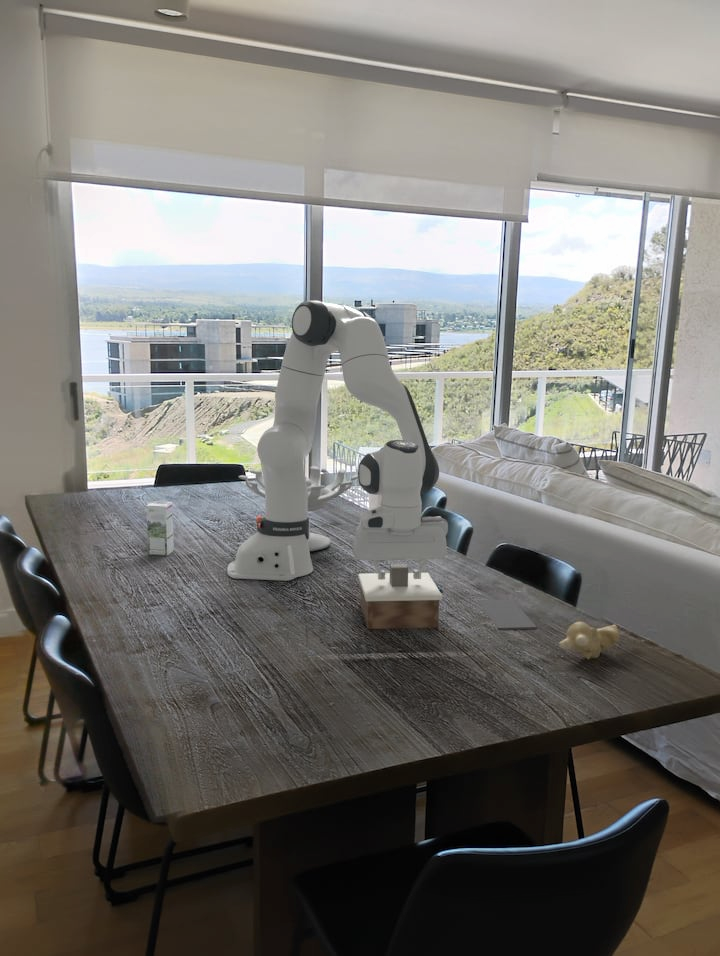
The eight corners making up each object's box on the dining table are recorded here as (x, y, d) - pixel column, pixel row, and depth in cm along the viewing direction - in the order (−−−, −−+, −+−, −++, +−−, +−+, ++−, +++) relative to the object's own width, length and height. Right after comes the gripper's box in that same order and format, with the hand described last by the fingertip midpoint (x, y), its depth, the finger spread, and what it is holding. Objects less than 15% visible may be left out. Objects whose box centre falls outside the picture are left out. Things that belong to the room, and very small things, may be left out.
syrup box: (174, 550, 222) (173, 501, 219) (167, 556, 216) (165, 505, 214) (154, 550, 222) (153, 500, 220) (147, 555, 217) (145, 504, 214)
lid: (365, 606, 161) (366, 578, 160) (358, 582, 177) (358, 556, 176) (441, 605, 163) (442, 577, 162) (427, 581, 179) (428, 555, 178)
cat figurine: (623, 624, 153) (587, 619, 146) (624, 662, 152) (587, 659, 144) (587, 624, 160) (550, 619, 152) (587, 660, 158) (550, 657, 150)
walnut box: (367, 632, 163) (368, 600, 162) (360, 608, 178) (360, 578, 176) (438, 630, 165) (439, 599, 163) (425, 606, 179) (425, 577, 178)
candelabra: (362, 533, 246) (363, 447, 241) (349, 564, 211) (351, 465, 207) (256, 528, 249) (255, 444, 244) (226, 559, 215) (225, 461, 210)
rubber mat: (454, 630, 165) (454, 628, 165) (437, 602, 182) (437, 600, 182) (536, 628, 167) (536, 626, 167) (512, 600, 184) (512, 599, 184)
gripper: (445, 513, 171) (443, 573, 174) (352, 513, 169) (351, 575, 172) (451, 519, 165) (449, 582, 168) (355, 520, 163) (354, 584, 165)
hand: (399, 578), depth 170 cm, fingers open, 6 cm apart
